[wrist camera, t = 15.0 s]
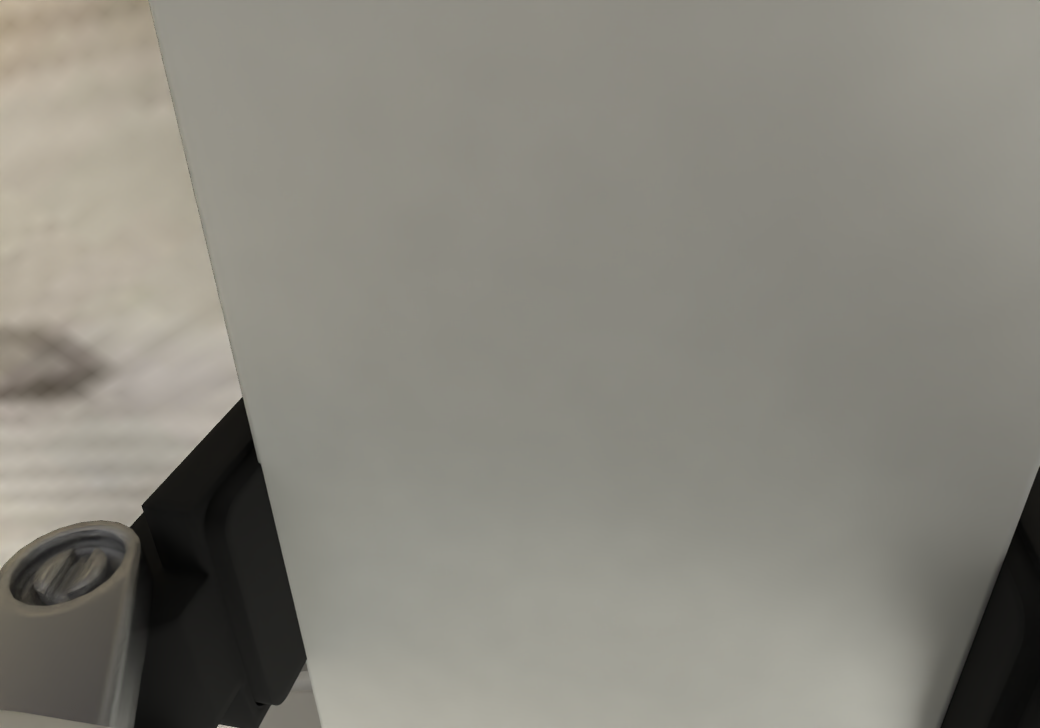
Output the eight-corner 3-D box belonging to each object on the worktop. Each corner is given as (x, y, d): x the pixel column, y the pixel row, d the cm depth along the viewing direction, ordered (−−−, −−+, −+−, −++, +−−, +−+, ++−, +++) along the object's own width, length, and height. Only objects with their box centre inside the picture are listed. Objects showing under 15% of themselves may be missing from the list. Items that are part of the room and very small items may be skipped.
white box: (294, -42, 8) (139, -16, 6) (1075, -52, 7) (1233, -22, 4) (408, 721, 14) (351, 866, 12) (827, 803, 13) (846, 985, 11)
